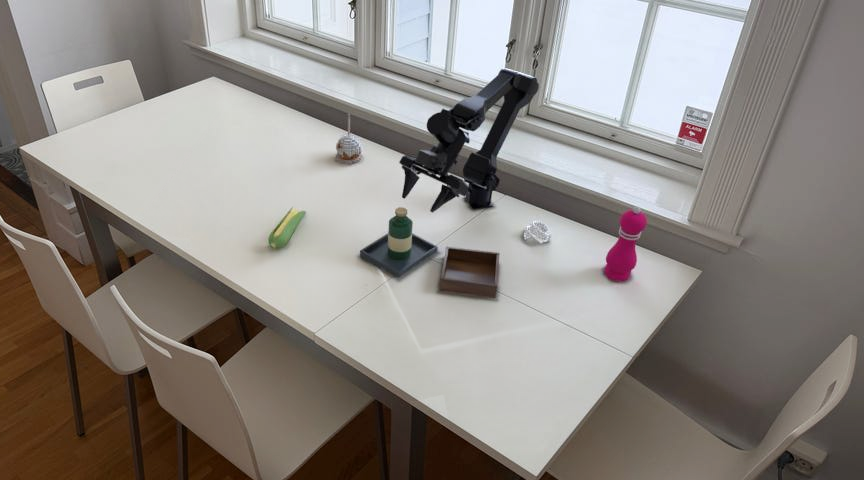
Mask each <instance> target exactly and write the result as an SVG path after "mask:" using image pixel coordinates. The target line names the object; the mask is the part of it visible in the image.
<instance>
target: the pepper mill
mask: <svg viewBox="0 0 864 480" xmlns="http://www.w3.org/2000/svg"><path fill="white" fill-rule="evenodd" d="M647 223H648V220H647V216H646V215H645V213H643V212H642V209H641V207H640V206H638V205H636V206H634V207H632V209H629V210H626V211H625V212H623V213H622V214H621V215H620V218H619V230H618V235H619V236H618V239H617V241H616V242H615V243H614V244H613V246H612V247H611V248H610V249H609V250H608V251H607V253H606V256H605V262H606V264H605V267H604V270H603V272H604V275H605V276H606V277H607V278H608V279H610V280H611V281H614V282H615V281H616V282H626V281H628V280H629V279H630V276H631V274H632V271H633V270H634V269H635V268H636V266H637V262H638V256H637V252H636V245H637V244H636V243H637V241H638V240H639V239H640V238H641V235H642V232H643V231H644V230H645V228H646V227H647Z"/></svg>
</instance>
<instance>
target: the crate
mask: <svg viewBox="0 0 864 480" xmlns="http://www.w3.org/2000/svg"><path fill="white" fill-rule="evenodd" d="M500 255H501V254H500V252H495V251H488V250H481V249H472V248H471V249H470V248H462V247H455V246H447V245H446V246H445V251H444V256H443V262H442V268H441V273H440V279H439V290H438V291H441V292H449V293H454V294H455V293H456V294H462V295H463V294H465V295H470V296H479V297H485V298H493V299H496V297H497V290H498V285H499V284H498V283H499V268H500Z"/></svg>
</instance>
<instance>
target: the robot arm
mask: <svg viewBox="0 0 864 480" xmlns="http://www.w3.org/2000/svg"><path fill="white" fill-rule="evenodd" d="M539 88H540V84H539V82H538V79H537V77H535V76H532V75H529V74H526V73H523V72H520V71H516V70H513V69H509V68H507V67H505V68H501V69H500V70H499V71H498V73H497V75H496V76H495V77H494V78H492V80H491V81H489V82H488V83H487V84H486V85H485V86H484V87H483V88H482V89H481V90H479V91H478V93H477V94H475V95H473V96H470V97H465V98H463V99H462V100H460V101H459V102H457V103H456V104H455V105H454V106H452V107H451V108H449V109H446V108H442V109H441V111H439V112H436V113H433V114H432V115H431V116H430V117H429V118H428V119H427V121H426V129H427V132H428V133H429V134H430V135H431V136H432V137H433V138H434V139H435V140H436V141H437V142H438V144H437V145H436V146H433V147H431V149H430V150H425V149H418V152H417V155H416V158H415V157H413V156H410V155H409V154H405V155H403V156H401V158H400V160H399V162H398V163H399V164H400V165H401V169H402V170H403V172H404V182H403V190H402V193H401V194H402V195H401V198H402V199H404V200H405V199H406V198H407V197H408V196H409V194H410V193H411V191H412V190H413V189H414V187H415V185H416V184H417V183H418V181H419V180H420V176H419V175H421V174H422V175H425V176H427V177H429V178H431V179H433V180H434V181H438V182H440V183H441V187H440V192H439V194H437V197H436V199H435V200H434V201H433V204H432V205H431V207H430V209H429V211H430V213H434V212H436V211H437V210H438V209H440V208H441V207H443V206H444V205H445V204H447V203H448V202H451V200H453V199H455V198H460V196H463V199H464V201H465V202H466V204H468V206H469V207H470V208H471V210H473V211H474V210H481V209H488V208H493V207H494V203H492V196H493V192H495V191H497V188H498V187H499V185H500V179H501V178H499V177H498V176H497V175H496V173H497V170H498V163H497V157H498V155H499V153H500V151H501V148H502V147H503V145H504V143H505V141H506V139H507V137H508V135H509V133H510V130H511V129H512V127H513V125H514V123H515V121H516V119H517V117H518V114H519V113H520V111H521V109H523V108H524V107H526V106H527V105H529V104H530V103H531V101H532V100H533V98H534V97H535V96H536V95H537V93H538V91H539ZM502 98H503V103H502V105H501V106H500V109H499V111H498V113H497V115H496V117H495V119H494V121H493V123H492V125H491V126H490V130H489V131H488V133H487V135H486V137H485V139H484V141H483V143H482V145H481V148H480V149H479V150H478V151H476V152H471V153H470V154H469V156H468V158H467V161H466V162H465V164H464V165H463V168H462V175H463V179H462V178H460V177H458V176H455V175H453V174H449V172H450V170H451V169H452V167H453V165H454V166H456V165H457V163H458V161H457V158H458V156H459V155H460V153H461V151H462V149H463V147H464V145H465V144H470V141H471V139H470V136H469V134H470V133H469V132H468V131H470V132H475V131H477V130H478V129H479V128H480V127H481V126H482V124H483V123H484V122H485V120H486V114H487V112H488V111H489V110H490V109H491V108H492V107H493V106H495V104H497V103H498V102H499V101H500V100H501V99H502Z"/></svg>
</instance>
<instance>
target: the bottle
mask: <svg viewBox="0 0 864 480" xmlns="http://www.w3.org/2000/svg"><path fill="white" fill-rule="evenodd" d="M394 214H395V215H394V216H393V217H391V218H390V219H389V221H388V233H387V234H388V255H389V256H390V257H391V258H393V259H396V260H404V259H407V258H408V257H409V256H410V255H411V244H412V233H413V224H414V223H413V220H412V219H411V218H409V216H407V215H408V209H407V208H406V207H404V206H403V207H402V206H400V207H397V208H395V210H394Z"/></svg>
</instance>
